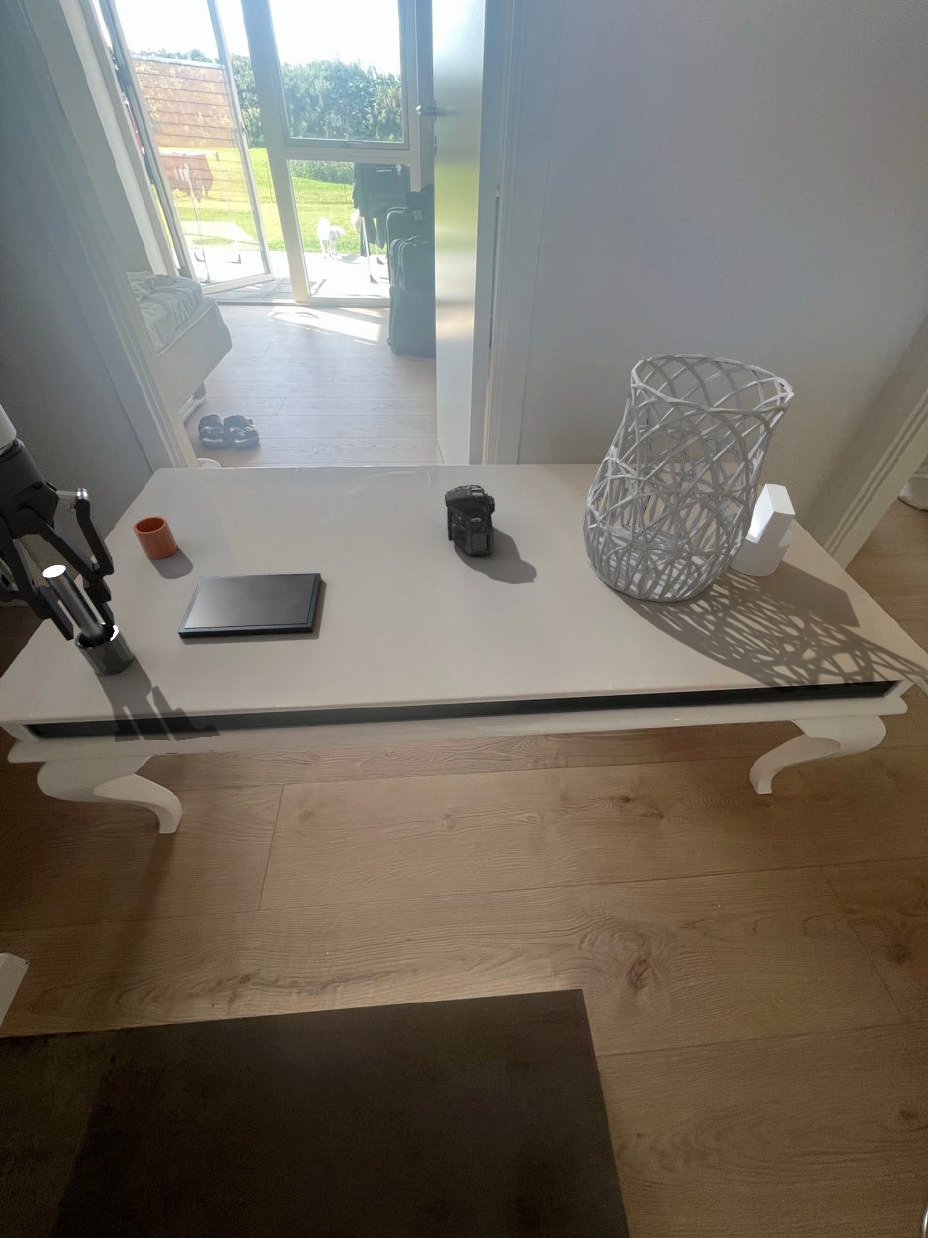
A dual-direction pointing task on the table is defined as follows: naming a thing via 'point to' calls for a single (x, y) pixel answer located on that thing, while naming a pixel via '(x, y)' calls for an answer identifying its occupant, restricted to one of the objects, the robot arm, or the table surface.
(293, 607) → the tablet
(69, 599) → the silver metal rod
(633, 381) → the vase
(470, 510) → the camera
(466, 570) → the table surface
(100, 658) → the pen stand
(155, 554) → the pen cup
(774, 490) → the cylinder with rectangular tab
